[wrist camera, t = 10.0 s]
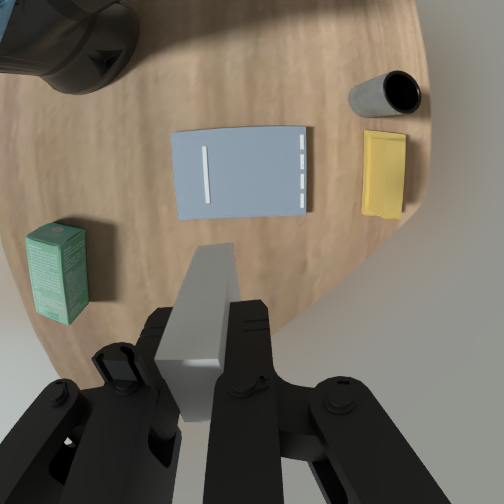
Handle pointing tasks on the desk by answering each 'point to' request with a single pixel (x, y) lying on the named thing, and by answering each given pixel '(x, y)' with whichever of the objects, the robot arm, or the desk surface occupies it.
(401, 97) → the gray cylinder
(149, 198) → the desk surface
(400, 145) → the yellow stepped block
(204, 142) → the ticket
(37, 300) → the box
